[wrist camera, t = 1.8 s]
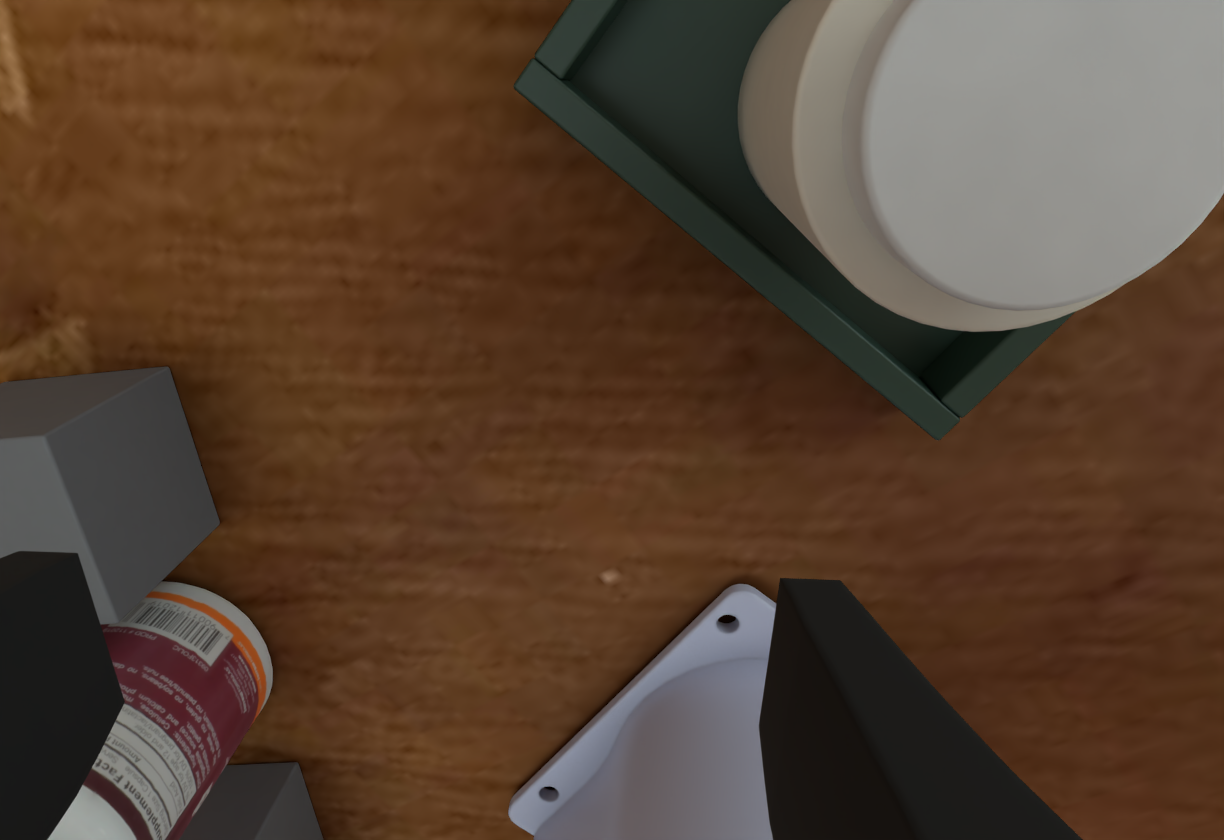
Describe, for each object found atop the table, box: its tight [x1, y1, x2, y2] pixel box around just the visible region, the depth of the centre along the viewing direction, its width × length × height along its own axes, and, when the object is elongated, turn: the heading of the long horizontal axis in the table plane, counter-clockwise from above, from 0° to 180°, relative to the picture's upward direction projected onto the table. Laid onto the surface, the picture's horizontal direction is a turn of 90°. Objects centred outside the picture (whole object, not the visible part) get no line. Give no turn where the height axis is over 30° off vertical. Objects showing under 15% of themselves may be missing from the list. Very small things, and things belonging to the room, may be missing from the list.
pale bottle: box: [738, 0, 1224, 332], centre depth 11 cm, size 5×5×8 cm
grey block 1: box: [0, 366, 220, 625], centre depth 17 cm, size 4×4×4 cm
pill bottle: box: [48, 581, 273, 840], centre depth 17 cm, size 5×5×8 cm
